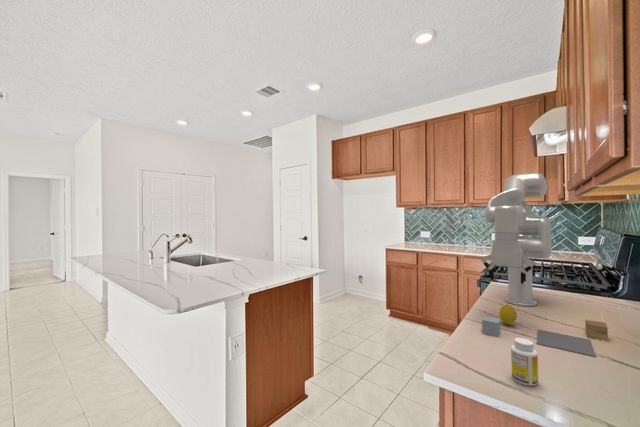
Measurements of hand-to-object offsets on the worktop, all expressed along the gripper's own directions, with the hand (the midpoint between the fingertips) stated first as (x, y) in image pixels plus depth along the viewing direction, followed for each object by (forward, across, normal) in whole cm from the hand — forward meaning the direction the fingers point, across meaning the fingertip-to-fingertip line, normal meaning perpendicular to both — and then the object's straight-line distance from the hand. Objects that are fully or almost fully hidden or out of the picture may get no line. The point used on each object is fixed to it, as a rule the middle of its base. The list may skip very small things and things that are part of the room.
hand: (506, 281), depth 107 cm
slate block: (+17, +4, +11) cm, 21 cm away
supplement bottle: (+18, -7, +39) cm, 44 cm away
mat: (+17, -16, +5) cm, 24 cm away
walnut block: (+17, -25, -7) cm, 31 cm away
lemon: (+17, 0, -1) cm, 17 cm away
